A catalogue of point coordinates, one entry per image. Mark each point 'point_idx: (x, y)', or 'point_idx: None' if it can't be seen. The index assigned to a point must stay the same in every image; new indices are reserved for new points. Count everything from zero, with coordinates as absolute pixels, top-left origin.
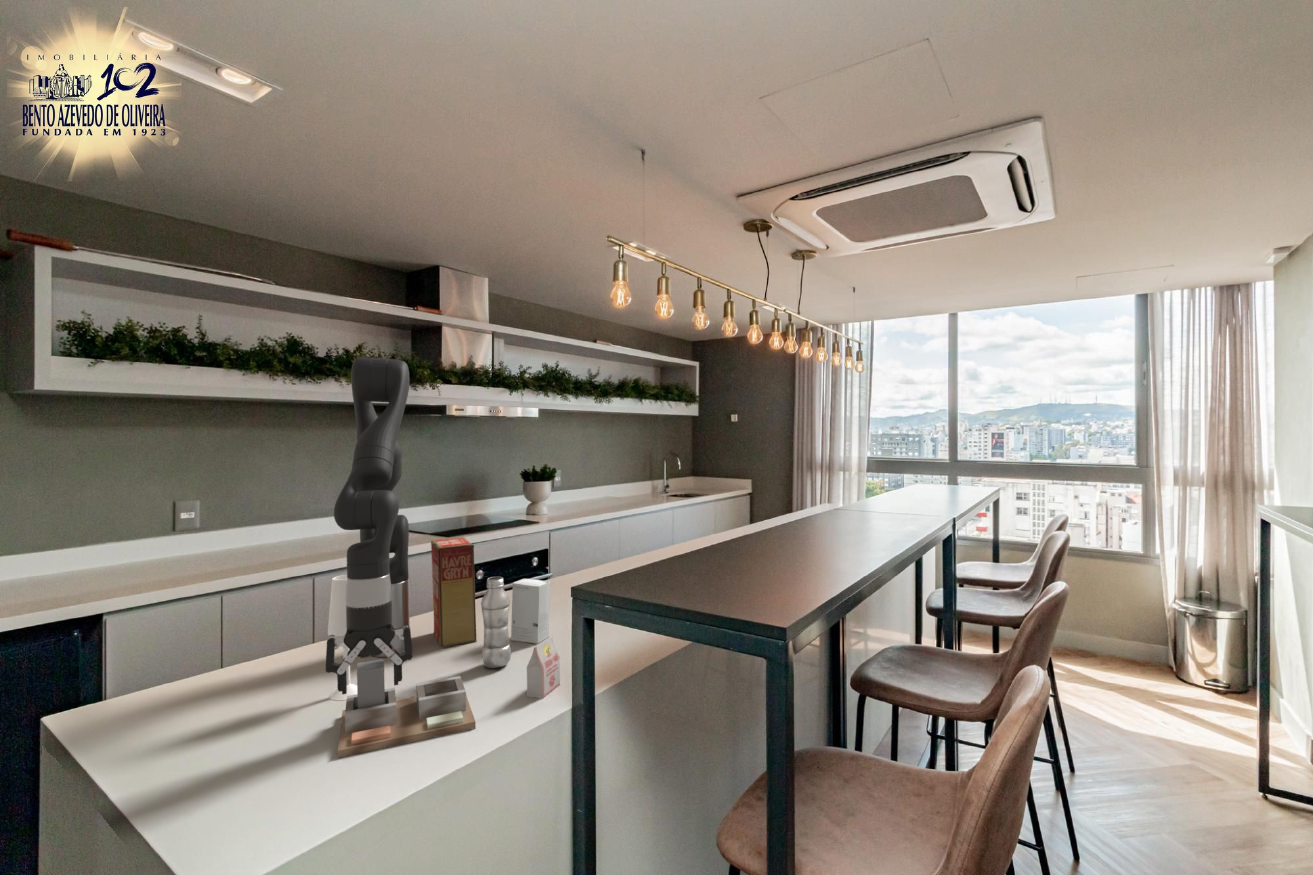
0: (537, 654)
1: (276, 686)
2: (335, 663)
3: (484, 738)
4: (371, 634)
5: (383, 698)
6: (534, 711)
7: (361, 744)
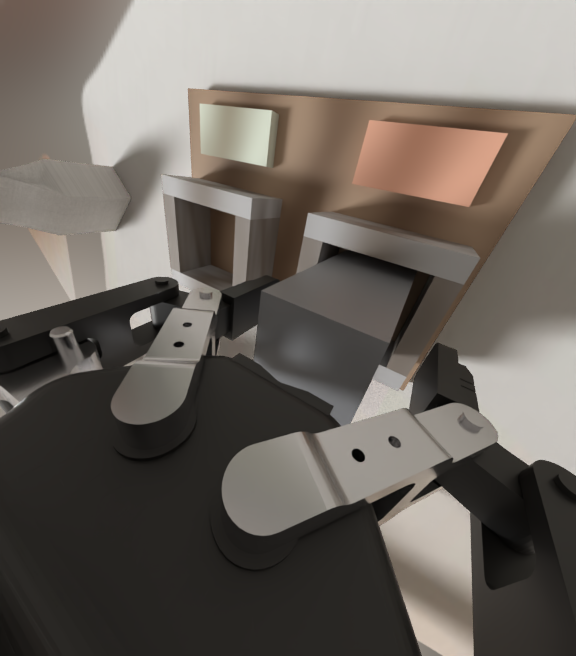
0: (10, 169)
1: (442, 578)
2: (476, 507)
3: (190, 5)
4: (126, 514)
5: (328, 261)
6: (118, 112)
7: (471, 122)
